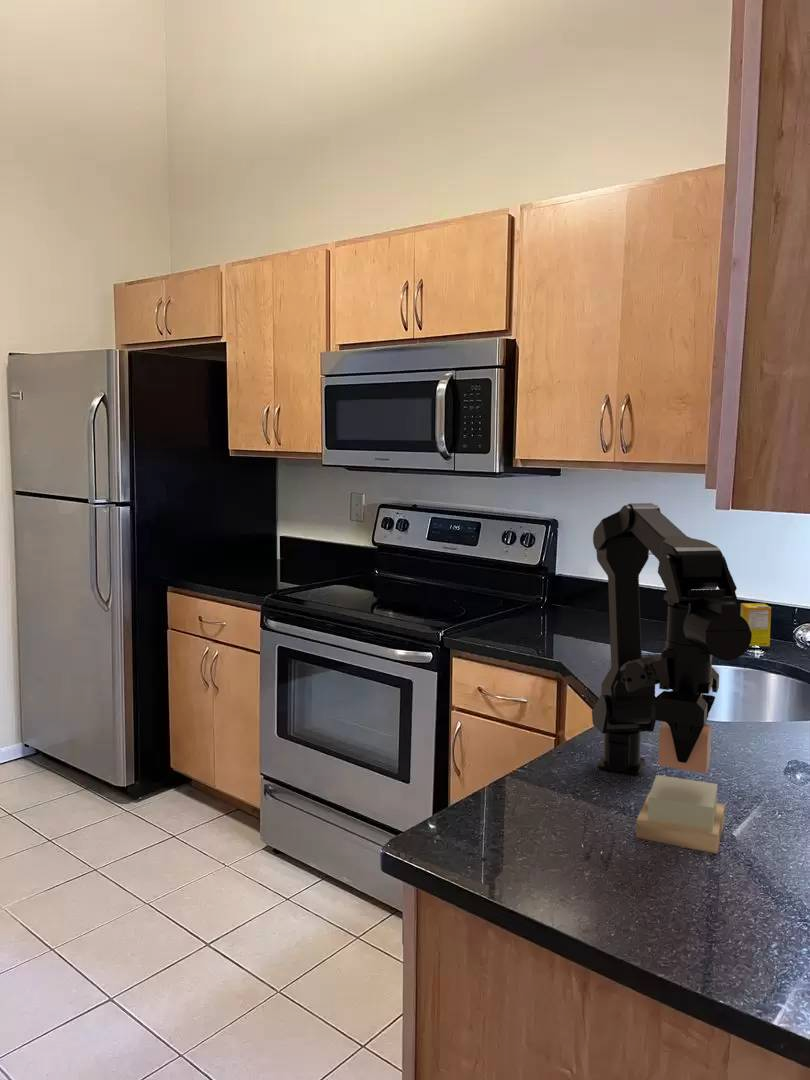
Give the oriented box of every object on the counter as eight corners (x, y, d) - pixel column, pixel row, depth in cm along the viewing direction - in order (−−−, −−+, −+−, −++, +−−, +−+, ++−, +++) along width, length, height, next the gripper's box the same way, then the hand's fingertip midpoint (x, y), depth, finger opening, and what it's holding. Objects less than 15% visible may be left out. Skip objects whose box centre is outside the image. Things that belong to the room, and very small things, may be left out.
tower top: (655, 795, 115) (656, 774, 115) (716, 805, 112) (717, 784, 112) (647, 819, 108) (648, 797, 108) (712, 830, 105) (713, 807, 104)
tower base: (649, 811, 117) (650, 791, 117) (724, 825, 113) (725, 804, 112) (636, 841, 108) (636, 819, 108) (716, 857, 104) (717, 835, 103)
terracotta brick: (663, 753, 112) (665, 718, 112) (710, 761, 110) (711, 725, 109) (658, 765, 108) (659, 728, 108) (706, 773, 106) (707, 735, 105)
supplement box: (762, 644, 214) (764, 602, 213) (769, 649, 208) (772, 607, 207) (738, 643, 215) (740, 602, 214) (745, 649, 209) (747, 606, 208)
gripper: (639, 621, 119) (636, 725, 121) (611, 649, 102) (608, 769, 104) (721, 628, 114) (716, 737, 116) (706, 660, 97) (700, 786, 99)
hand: (684, 755), depth 109 cm, fingers closed on terracotta brick, 4 cm apart
